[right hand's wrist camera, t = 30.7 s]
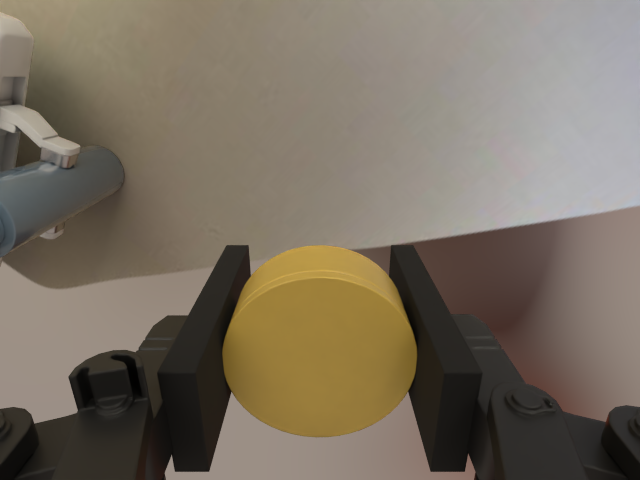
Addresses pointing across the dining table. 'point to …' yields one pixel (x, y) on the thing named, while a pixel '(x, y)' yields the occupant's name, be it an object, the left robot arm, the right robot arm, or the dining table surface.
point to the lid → (319, 343)
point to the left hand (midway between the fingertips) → (67, 193)
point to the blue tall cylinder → (53, 194)
